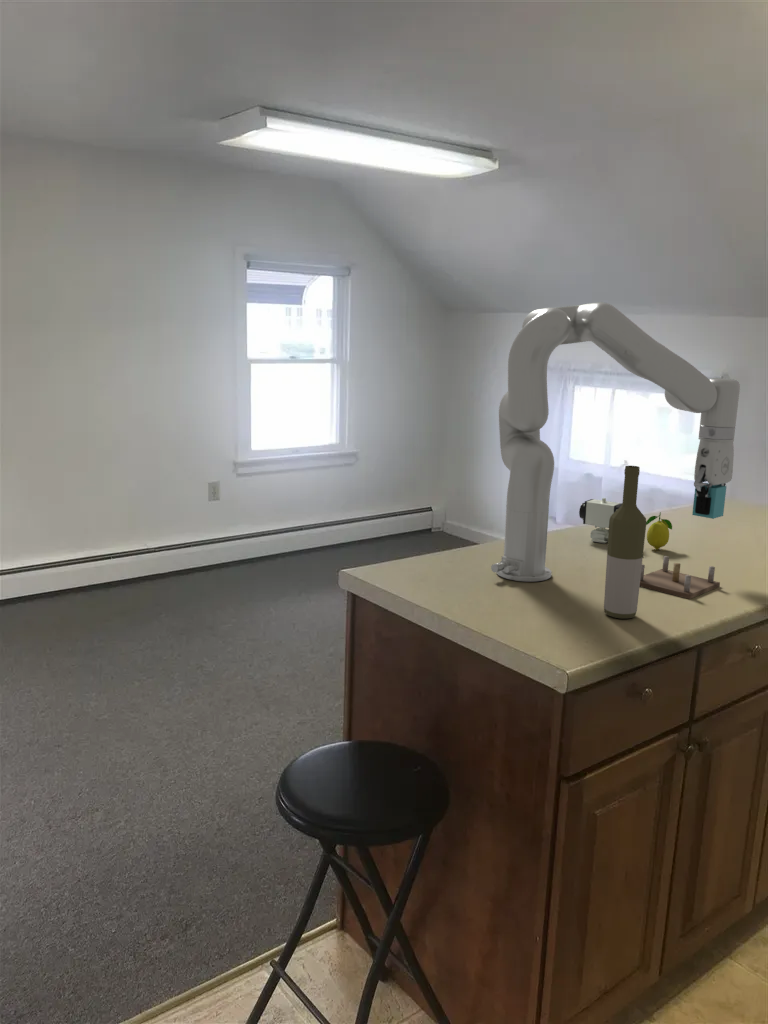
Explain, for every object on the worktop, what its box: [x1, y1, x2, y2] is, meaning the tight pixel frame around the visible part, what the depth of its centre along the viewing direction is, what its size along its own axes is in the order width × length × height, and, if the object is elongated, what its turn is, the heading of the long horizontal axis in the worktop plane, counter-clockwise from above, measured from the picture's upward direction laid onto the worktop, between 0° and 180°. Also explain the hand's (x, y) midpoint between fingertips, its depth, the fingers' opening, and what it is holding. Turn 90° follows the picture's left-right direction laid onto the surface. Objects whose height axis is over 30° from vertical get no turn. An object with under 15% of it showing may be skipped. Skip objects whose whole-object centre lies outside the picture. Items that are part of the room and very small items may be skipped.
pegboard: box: [640, 555, 721, 600], centre depth 188 cm, size 14×14×5 cm
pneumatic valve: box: [578, 497, 623, 545], centre depth 225 cm, size 6×12×12 cm, turn 53°
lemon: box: [646, 512, 673, 550], centre depth 218 cm, size 7×6×10 cm
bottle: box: [603, 465, 647, 620], centre depth 164 cm, size 7×7×30 cm
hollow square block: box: [692, 482, 727, 520], centre depth 193 cm, size 5×5×7 cm
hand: (708, 511), depth 194 cm, fingers closed on hollow square block, 5 cm apart
